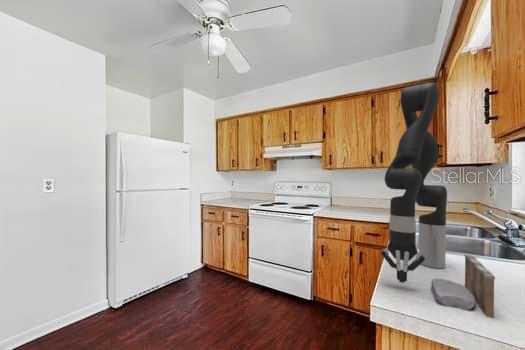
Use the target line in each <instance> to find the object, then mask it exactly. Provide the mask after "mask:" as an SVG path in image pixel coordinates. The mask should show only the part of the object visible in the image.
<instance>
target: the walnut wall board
mask: <svg viewBox="0 0 525 350" xmlns="http://www.w3.org/2000/svg"><path fill="white" fill-rule="evenodd" d="M464 259H465V261H464V287H466V288H467V289H468V290H469V291H470V293H471V294H472V295H473V296H474V297H475V301H476V304H477V305H478V307H479V308H480V310H481V311H482V312H483V314H484V315H485V317H488V318H492V319H493V318H494V316H495V315H494V314H495V313H494V312H495V311H494V310H495V280H496V276H495V275H494V274H493V273H492V272H491V271H490V270H488V268H487V267H485V266H484V264H482V262H480V260H478V259H477V258H476V257H474V255H473V254H472V253H470V254H469V253H464Z"/></svg>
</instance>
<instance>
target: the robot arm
mask: <svg viewBox="0 0 525 350" xmlns="http://www.w3.org/2000/svg"><path fill="white" fill-rule="evenodd" d="M439 101H440V89H439V85H438V84H437V83H436V82H425V83H422V84H416V85H411V86H407V87H404V88H403V89H402V90H401V92H400V106H401V110H402V114H403V119H404V122H405V123H404V124H405V127H406V130H405V131H404V133H402V135H401V137H400V139H399V140H398V141H399V142H398V146H397V150H396V154H395V156H394V158H393V159H392V161H391V163H390V164H389V166H388V168H387V170H386V171H385V175H384V183H385V185H386V187H387V188H389V189H390V190H403V191H404V192H403V195H400V196H394V197H391V199H390V208H389V209H390V210H389V211H390V213H389V222H388V223H389V224H388V227H389V229H388V230H389V232H388V237H389V238H388V244H387V247H386V248H383V249H381V251H380V253H381V256H382V257H383V259H384V260H385V261H386V263H388V265H389V266H390V267H391V268H392V269H395V270H396V279H397V280H398V283H403V284H405V282H407V281H408V272H409V271H410V272H413V271H415V270H416V269H417V267H419V266H420V265H422V266H424V267H429V268H431V269H432V268H434V269H444V268H446V250H447V249H446V248H447V247H446V245H447V244H446V242H447V241H446V240H447V239H446V238H447V237H446V236H447V235H446V234H447V229H446V228H447V201H448V191H447V188H446V187H445V186H444V185H437V184H436V185H433V184H431V185H430V184H424V183H425V182H424V181H425V179H426V177H427V176H428V174H429V173H430V171H432V169H433V168H434V166H435V165H436V164H437V162H438V161H439V146H438V145H439V144H438V140H437V139H436V137H435V136H434V135H433V134H432V133H431V132H430V131H429V130H428V129H429V127H430V125H431V123H432V120H433V118H434V116H435V113H436V110H437V107H438V105H439ZM417 112H420V114H419V115H418V114H417ZM409 166H411V168H410V167H409ZM416 204H417V206H419V207H426V208H435V210H434V211H433V212H430V213H425V214H420V215H419V216H418V249H417V246H416V242H417V240H416V239H417V235H416V234H417V232H416V231H417V221H416ZM390 254H391V255H392V257H393V258H394V259H395V261H396V262H394V260H393V259H392V258H391V257H390ZM414 258H415V259H414ZM412 259H414V260H413V261H412V262H411V263H410V264H409V262H410V261H411V260H412ZM401 262H402V263H401Z"/></svg>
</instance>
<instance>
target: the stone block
mask: <svg viewBox="0 0 525 350" xmlns="http://www.w3.org/2000/svg"><path fill="white" fill-rule="evenodd" d="M431 290H432V292H433V297H434V299H435V301H436V303H438V304H439V305H441V306H446V307H450V308H457V309H461V310H464V311H470V310H471V309H472V308H473V307H475V305H476V304H477V302H476V301H475V297H474V296H473V295H472V294H471V293H470V291H469V290H468V289H467V288H466V286H465V285H463V284H460V283H458V282H453V281H451V280H449V279H448V280H447V279H444V278H432V279H431Z"/></svg>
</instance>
